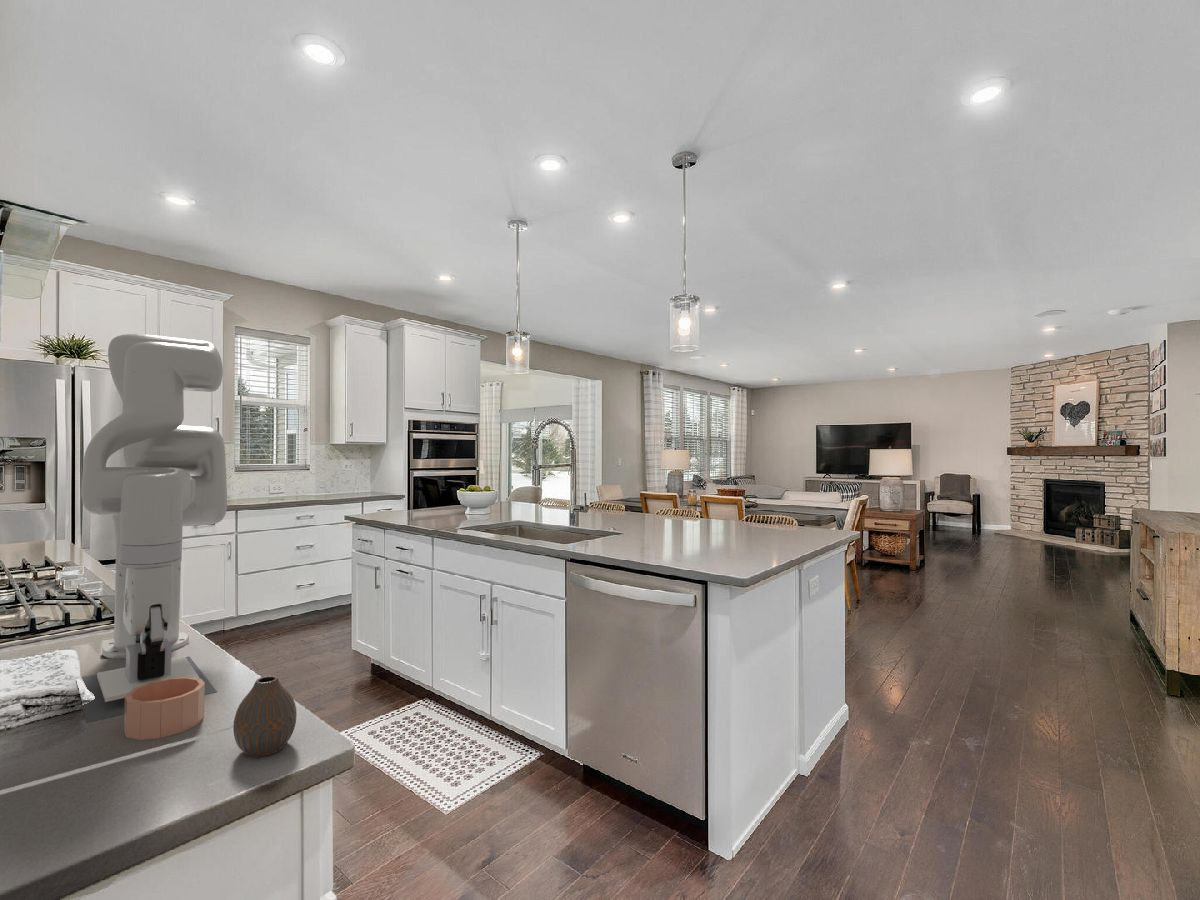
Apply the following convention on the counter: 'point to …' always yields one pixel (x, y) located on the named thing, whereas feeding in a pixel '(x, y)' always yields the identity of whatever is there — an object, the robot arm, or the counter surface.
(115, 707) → the mat
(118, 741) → the counter surface
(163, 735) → the bowl
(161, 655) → the robot arm
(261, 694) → the vase
